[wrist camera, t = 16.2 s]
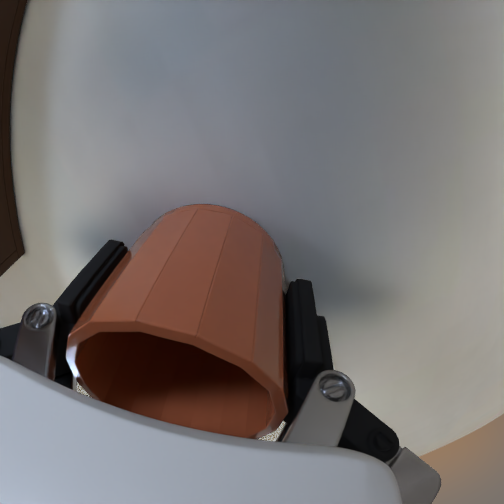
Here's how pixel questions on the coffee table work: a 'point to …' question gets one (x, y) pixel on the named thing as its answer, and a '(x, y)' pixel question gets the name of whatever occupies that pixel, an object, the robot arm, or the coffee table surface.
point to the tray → (8, 133)
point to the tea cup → (191, 326)
